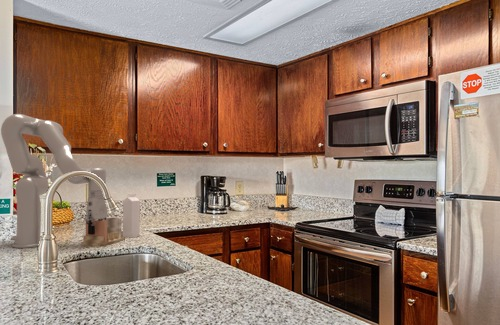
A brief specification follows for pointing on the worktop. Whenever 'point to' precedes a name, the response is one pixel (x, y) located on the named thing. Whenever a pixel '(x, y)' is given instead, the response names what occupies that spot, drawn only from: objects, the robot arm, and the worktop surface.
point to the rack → (112, 234)
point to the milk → (131, 216)
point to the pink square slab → (99, 229)
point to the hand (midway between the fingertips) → (96, 232)
